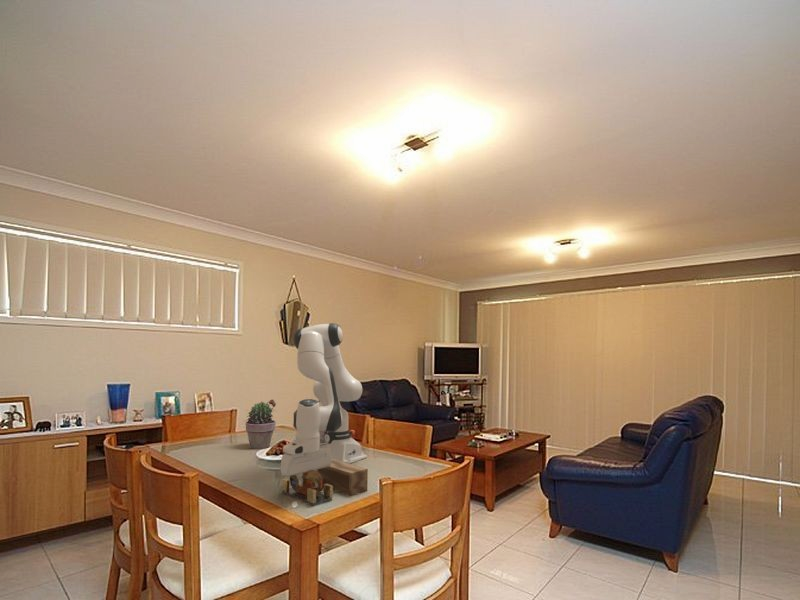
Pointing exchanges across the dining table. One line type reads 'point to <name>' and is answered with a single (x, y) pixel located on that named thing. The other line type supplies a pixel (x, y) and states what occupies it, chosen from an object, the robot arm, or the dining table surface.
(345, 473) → the brown wooden block
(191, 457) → the dining table surface
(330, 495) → the grey pegged base
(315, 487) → the brown curved piece
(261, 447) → the potted plant
